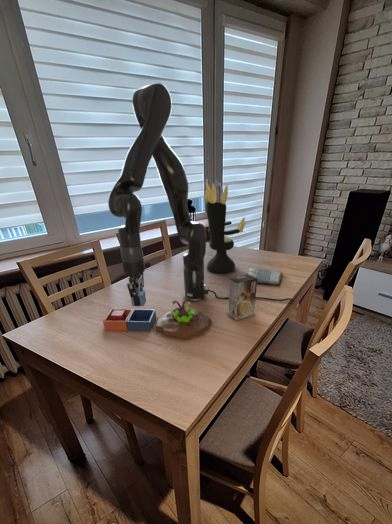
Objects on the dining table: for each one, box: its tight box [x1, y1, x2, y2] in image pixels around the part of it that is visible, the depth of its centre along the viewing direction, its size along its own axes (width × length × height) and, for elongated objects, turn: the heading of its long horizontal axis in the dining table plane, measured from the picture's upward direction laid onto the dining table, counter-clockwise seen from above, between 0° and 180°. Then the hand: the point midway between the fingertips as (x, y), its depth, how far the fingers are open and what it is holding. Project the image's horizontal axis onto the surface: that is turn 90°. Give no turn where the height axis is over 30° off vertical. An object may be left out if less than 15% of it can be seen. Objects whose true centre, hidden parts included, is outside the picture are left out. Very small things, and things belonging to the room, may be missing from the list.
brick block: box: [111, 310, 126, 321], centre depth 110 cm, size 4×4×4 cm
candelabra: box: [204, 182, 246, 274], centre depth 149 cm, size 19×22×45 cm
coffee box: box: [227, 273, 258, 321], centre depth 111 cm, size 9×6×16 cm
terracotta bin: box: [102, 308, 134, 332], centre depth 110 cm, size 9×11×4 cm
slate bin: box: [127, 308, 157, 332], centre depth 110 cm, size 9×11×4 cm
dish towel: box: [247, 267, 283, 286], centre depth 149 cm, size 19×18×3 cm
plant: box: [155, 299, 212, 340], centre depth 106 cm, size 20×20×11 cm
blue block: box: [130, 290, 147, 307], centre depth 104 cm, size 4×4×4 cm
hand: (139, 302), depth 106 cm, fingers closed on blue block, 4 cm apart
